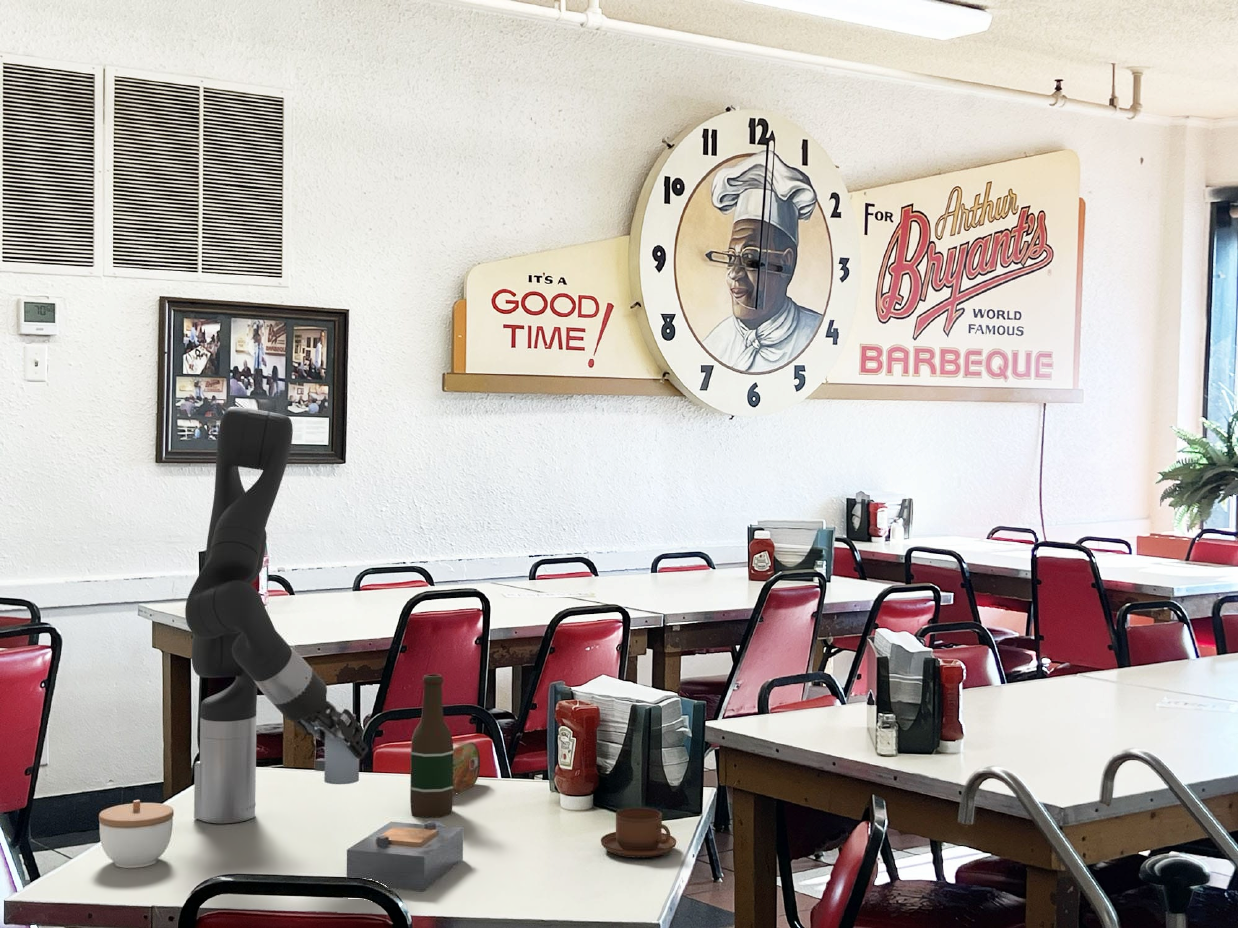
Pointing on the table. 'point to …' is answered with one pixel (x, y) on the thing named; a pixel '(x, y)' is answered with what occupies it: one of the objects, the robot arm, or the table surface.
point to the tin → (465, 766)
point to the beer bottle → (431, 756)
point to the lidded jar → (136, 833)
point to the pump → (338, 762)
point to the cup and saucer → (639, 834)
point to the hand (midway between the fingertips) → (351, 751)
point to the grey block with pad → (407, 854)
